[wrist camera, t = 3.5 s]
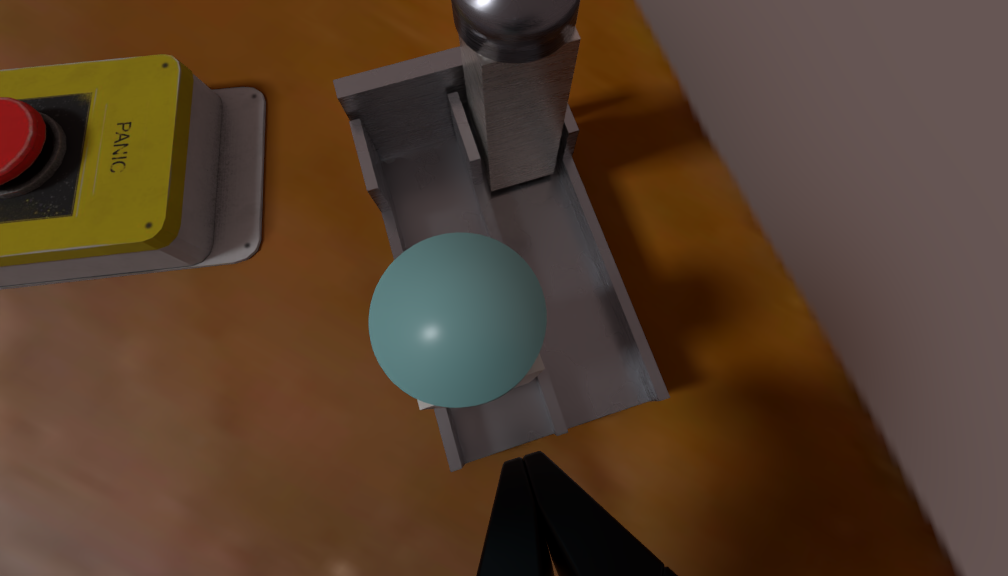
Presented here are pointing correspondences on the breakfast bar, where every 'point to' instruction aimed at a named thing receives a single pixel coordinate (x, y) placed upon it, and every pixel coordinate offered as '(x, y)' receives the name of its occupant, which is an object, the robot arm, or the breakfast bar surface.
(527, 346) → the plunger
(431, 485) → the breakfast bar surface
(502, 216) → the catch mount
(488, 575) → the robot arm
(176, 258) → the emergency button
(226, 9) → the breakfast bar surface
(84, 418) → the breakfast bar surface
